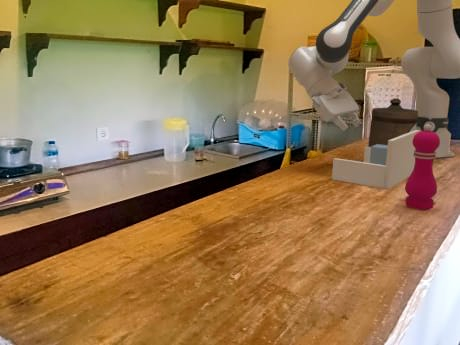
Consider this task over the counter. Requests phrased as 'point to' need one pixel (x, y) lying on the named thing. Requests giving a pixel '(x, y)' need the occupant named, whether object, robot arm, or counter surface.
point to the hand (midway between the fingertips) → (353, 127)
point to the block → (378, 154)
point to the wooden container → (391, 123)
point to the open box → (375, 174)
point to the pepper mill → (423, 170)
